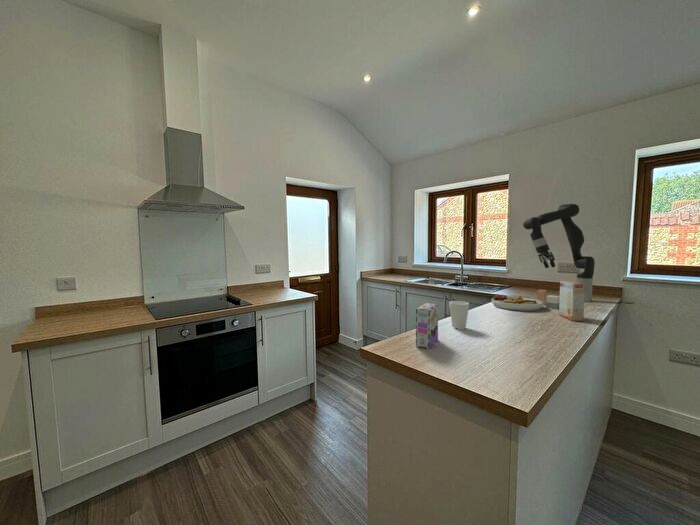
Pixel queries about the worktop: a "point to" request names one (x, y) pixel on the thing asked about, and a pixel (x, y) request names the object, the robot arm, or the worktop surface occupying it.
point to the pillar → (542, 295)
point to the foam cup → (459, 313)
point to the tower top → (552, 299)
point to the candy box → (426, 325)
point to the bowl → (516, 303)
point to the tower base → (552, 305)
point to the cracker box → (571, 300)
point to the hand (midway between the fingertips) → (550, 267)
